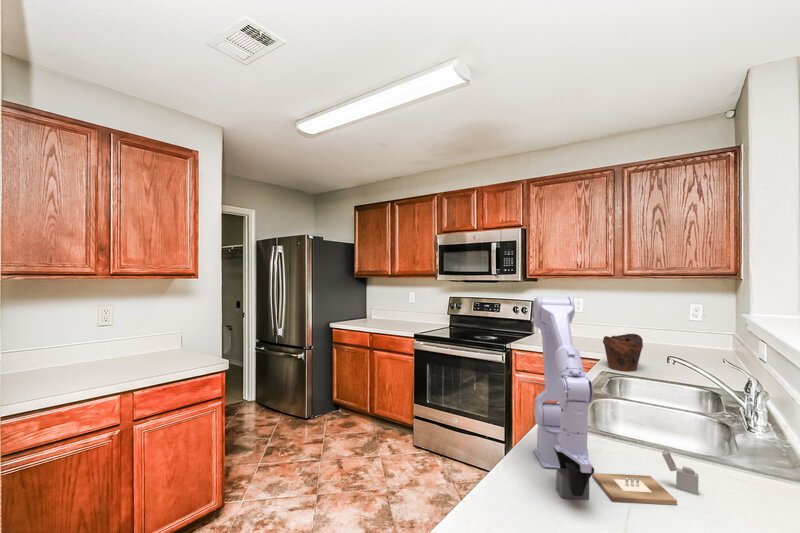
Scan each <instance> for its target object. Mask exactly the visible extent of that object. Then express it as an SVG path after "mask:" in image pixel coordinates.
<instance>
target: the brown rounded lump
mask: <svg viewBox="0 0 800 533" xmlns="http://www.w3.org/2000/svg"><path fill="white" fill-rule="evenodd" d="M643 342H644V340H643V337H642V336H641V335H639V334H638V333H624V334H619V335H611V336H608V335H605V336H603V339H602V344H603V345H604V350H605V356H606V361H607V366H608V368H609V369H611V370H615V371H621V372H636V371H637V368H638V366H639V361H640V357H641V352H642V349H643V347H644V345H643Z"/></svg>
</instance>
